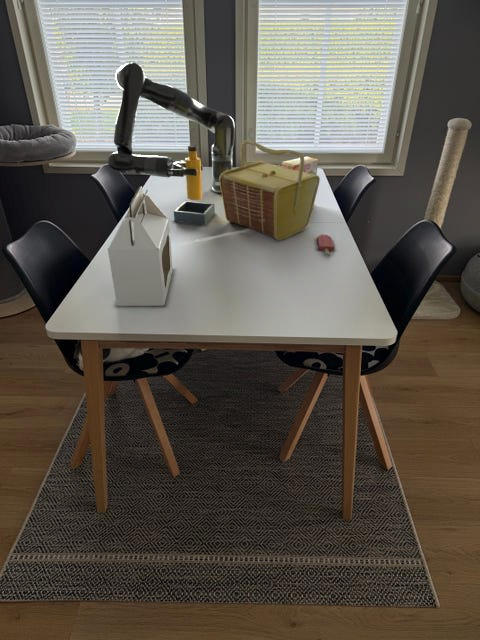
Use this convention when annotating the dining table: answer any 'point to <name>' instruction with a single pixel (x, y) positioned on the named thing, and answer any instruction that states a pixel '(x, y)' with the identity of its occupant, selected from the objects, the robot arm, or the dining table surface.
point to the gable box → (141, 255)
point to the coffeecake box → (309, 165)
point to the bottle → (192, 181)
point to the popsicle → (325, 243)
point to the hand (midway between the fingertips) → (199, 170)
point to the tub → (194, 212)
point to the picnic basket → (269, 195)
